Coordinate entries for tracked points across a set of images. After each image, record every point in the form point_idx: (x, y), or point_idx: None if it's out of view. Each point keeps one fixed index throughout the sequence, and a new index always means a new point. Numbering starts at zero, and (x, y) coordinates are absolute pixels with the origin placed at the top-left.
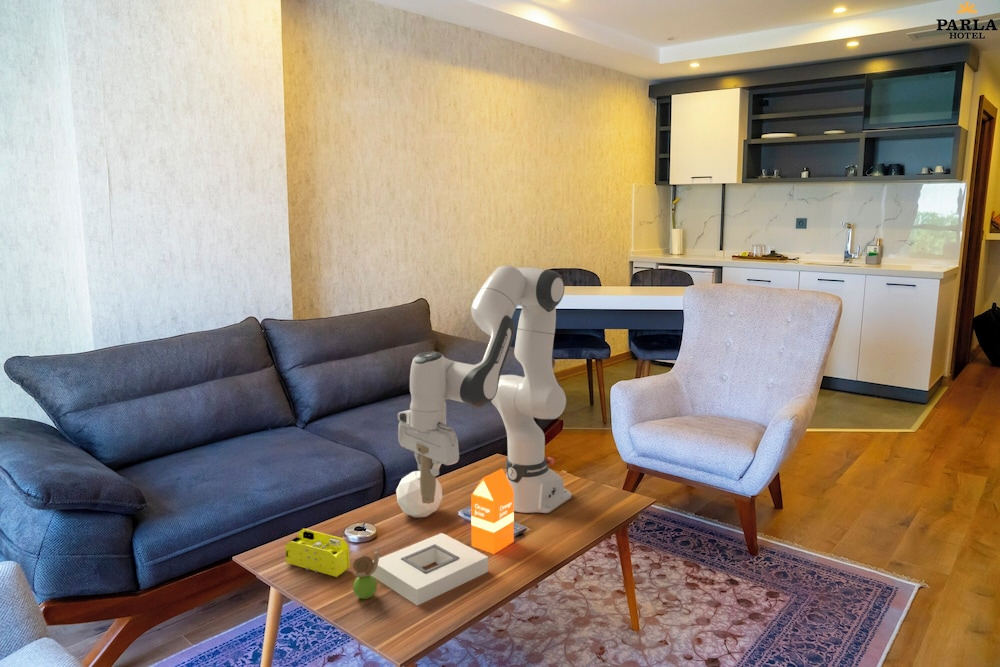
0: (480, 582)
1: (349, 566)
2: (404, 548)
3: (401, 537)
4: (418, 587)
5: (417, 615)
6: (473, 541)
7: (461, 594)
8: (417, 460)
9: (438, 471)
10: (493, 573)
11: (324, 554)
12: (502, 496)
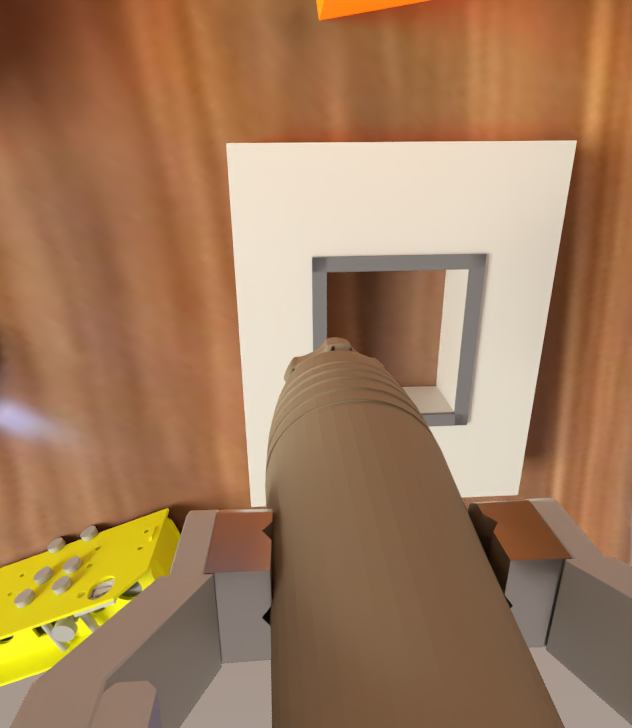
0: (565, 225)
1: (166, 511)
2: (245, 371)
3: (36, 229)
4: (512, 485)
5: (530, 485)
6: (333, 10)
7: (560, 328)
8: (175, 710)
9: (572, 530)
10: (565, 135)
11: None
12: None
